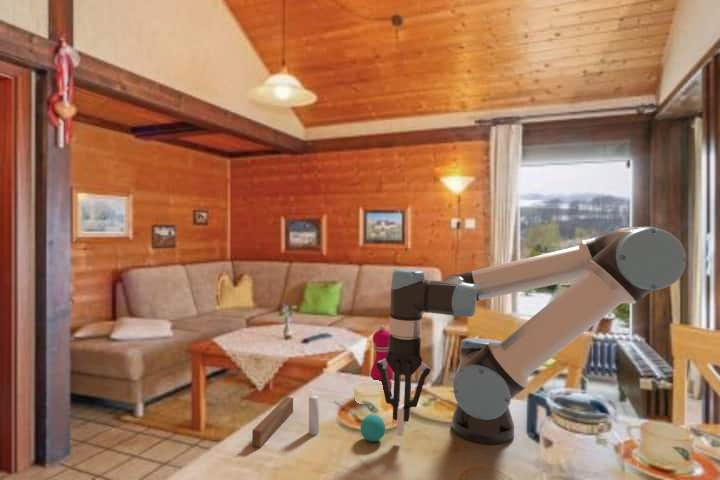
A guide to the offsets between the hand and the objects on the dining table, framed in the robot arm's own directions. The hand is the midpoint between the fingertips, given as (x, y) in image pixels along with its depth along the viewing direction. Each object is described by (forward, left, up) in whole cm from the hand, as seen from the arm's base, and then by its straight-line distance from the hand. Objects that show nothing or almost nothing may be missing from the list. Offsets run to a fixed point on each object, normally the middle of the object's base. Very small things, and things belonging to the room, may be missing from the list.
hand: (400, 433), depth 103 cm
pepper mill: (+11, -34, -3) cm, 36 cm away
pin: (+22, 0, -3) cm, 22 cm away
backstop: (+32, 0, -3) cm, 32 cm away
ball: (+7, 0, 0) cm, 7 cm away
